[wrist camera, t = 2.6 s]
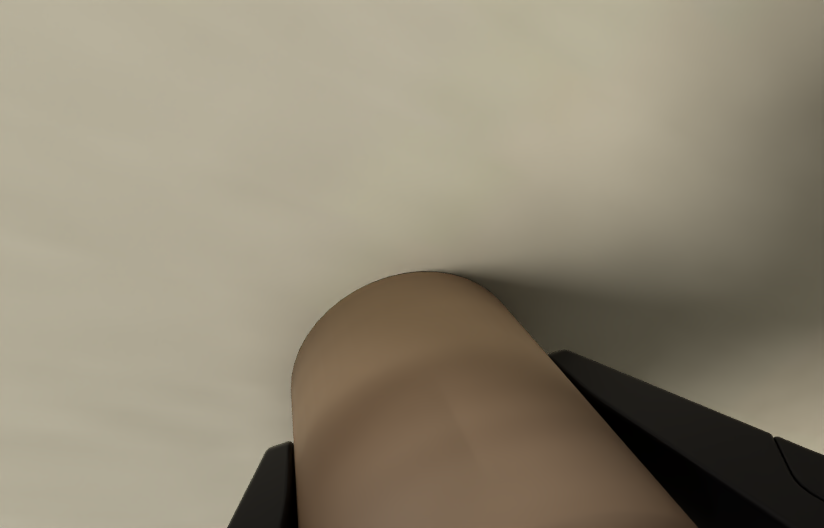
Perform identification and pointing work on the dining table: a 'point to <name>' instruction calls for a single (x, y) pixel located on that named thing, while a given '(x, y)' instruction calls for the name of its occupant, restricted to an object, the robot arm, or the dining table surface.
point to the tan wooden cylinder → (453, 422)
